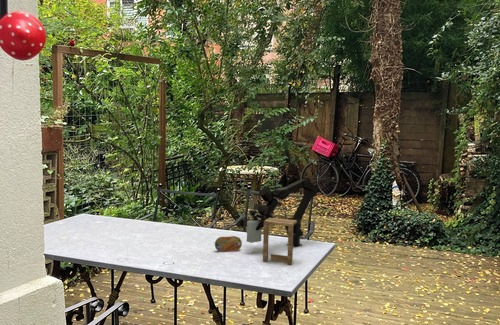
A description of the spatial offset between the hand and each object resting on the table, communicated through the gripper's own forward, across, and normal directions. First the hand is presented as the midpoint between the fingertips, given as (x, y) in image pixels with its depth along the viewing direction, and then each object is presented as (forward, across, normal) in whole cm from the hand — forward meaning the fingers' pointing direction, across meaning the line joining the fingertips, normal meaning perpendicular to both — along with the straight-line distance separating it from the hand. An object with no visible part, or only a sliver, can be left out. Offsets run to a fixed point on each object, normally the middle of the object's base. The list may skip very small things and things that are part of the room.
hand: (253, 229), depth 252 cm
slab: (+4, 0, +5) cm, 7 cm away
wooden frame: (+7, +18, +12) cm, 23 cm away
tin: (+16, -11, +3) cm, 20 cm away
